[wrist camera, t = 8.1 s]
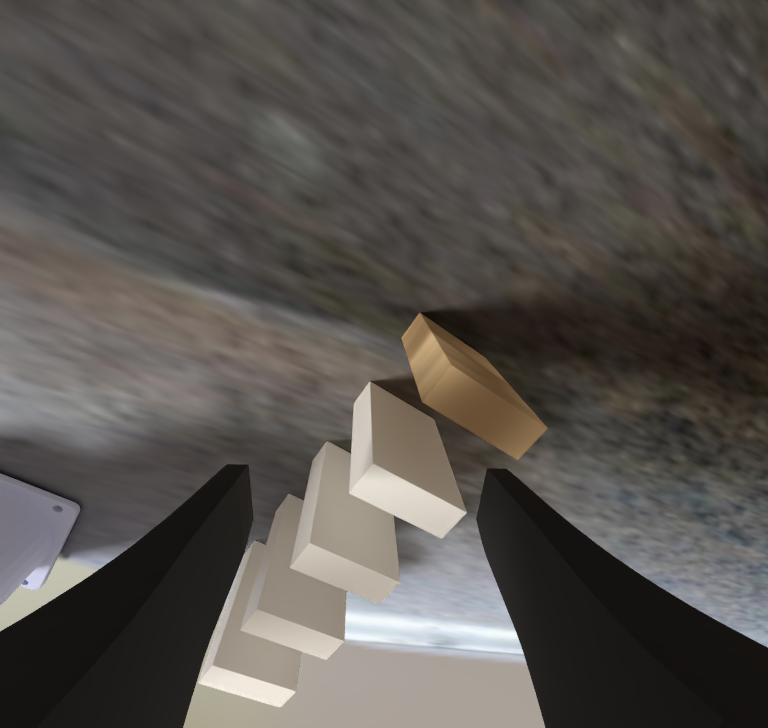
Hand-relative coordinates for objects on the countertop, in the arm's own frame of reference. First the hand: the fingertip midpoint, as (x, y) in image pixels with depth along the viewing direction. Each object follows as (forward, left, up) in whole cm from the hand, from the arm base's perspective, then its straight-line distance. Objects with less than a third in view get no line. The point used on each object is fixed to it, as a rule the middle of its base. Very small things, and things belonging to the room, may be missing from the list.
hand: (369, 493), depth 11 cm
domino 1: (+3, -5, -9) cm, 11 cm away
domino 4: (+3, -1, -9) cm, 9 cm away
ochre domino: (+3, +4, -9) cm, 10 cm away
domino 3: (+3, -14, -9) cm, 17 cm away
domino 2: (+3, -10, -9) cm, 14 cm away
